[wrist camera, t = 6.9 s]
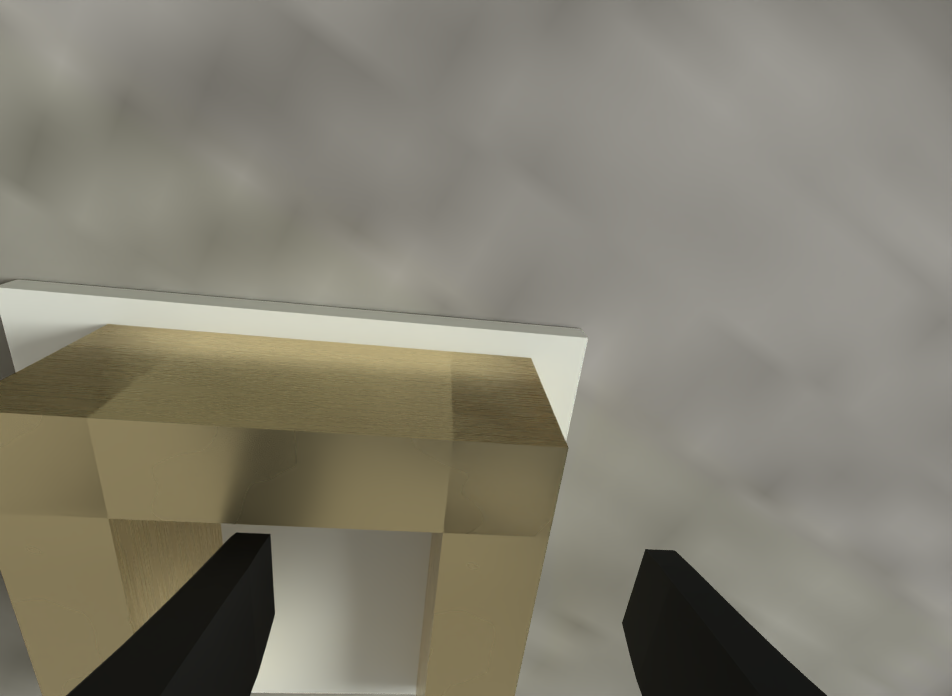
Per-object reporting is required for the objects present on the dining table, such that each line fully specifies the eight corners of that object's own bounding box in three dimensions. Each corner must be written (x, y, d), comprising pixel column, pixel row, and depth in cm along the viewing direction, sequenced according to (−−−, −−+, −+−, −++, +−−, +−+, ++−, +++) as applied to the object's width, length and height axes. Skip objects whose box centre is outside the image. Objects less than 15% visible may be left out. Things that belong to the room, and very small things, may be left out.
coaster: (581, 328, 11) (587, 338, 11) (509, 675, 16) (511, 695, 15) (17, 279, 10) (-8, 287, 10) (113, 670, 15) (100, 691, 14)
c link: (531, 357, 11) (568, 448, 8) (475, 685, 15) (483, 834, 12) (107, 323, 10) (-54, 409, 7) (172, 682, 14) (91, 842, 11)
